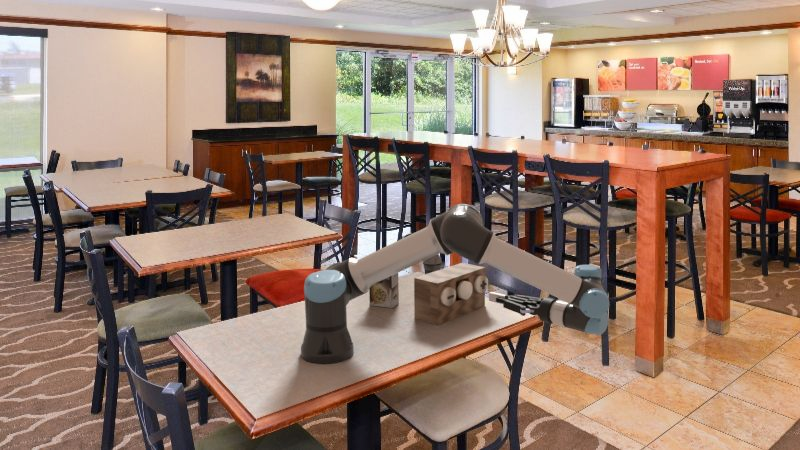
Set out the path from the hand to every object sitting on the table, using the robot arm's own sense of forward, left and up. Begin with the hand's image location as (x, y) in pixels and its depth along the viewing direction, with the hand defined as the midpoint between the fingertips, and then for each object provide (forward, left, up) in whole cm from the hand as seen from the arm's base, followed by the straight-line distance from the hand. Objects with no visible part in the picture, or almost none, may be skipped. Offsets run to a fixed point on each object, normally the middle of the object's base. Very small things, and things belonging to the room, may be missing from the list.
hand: (490, 296), depth 208 cm
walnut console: (0, +15, -9) cm, 18 cm away
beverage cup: (+13, +35, -9) cm, 39 cm away
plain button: (0, +10, -3) cm, 11 cm away
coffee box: (-9, +39, -9) cm, 41 cm away
